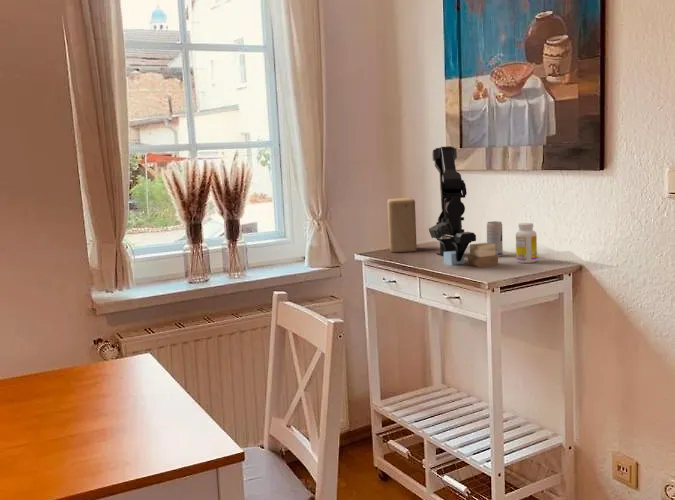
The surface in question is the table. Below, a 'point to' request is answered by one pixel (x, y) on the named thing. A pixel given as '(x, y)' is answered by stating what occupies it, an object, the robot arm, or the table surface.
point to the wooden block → (402, 225)
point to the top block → (452, 258)
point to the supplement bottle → (526, 244)
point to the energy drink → (495, 236)
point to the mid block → (482, 249)
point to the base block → (483, 260)
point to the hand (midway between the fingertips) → (453, 260)
